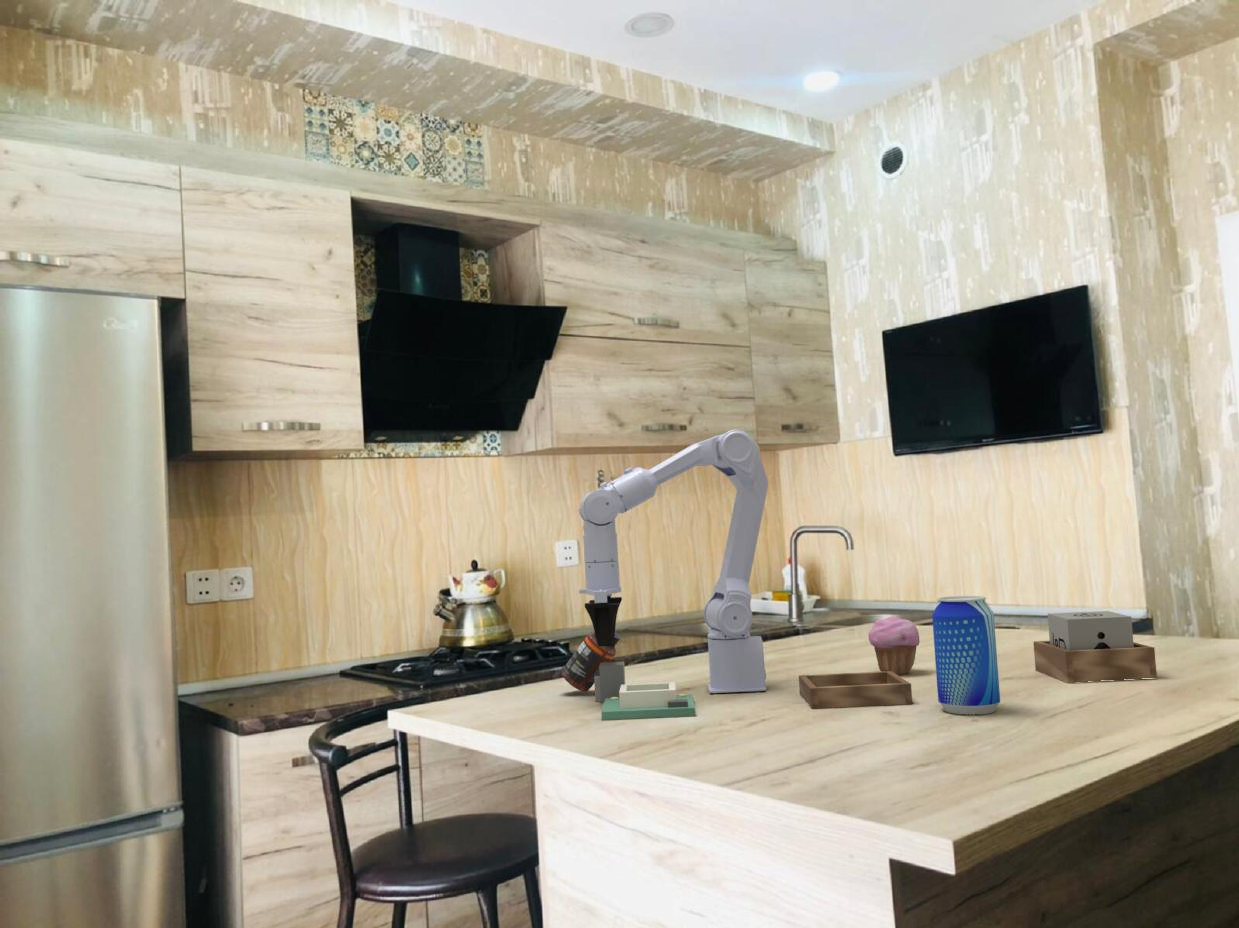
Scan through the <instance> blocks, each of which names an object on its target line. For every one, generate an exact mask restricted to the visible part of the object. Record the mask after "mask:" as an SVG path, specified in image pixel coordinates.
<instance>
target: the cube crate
mask: <svg viewBox="0 0 1239 928" xmlns="http://www.w3.org/2000/svg"><path fill="white" fill-rule="evenodd" d="M1133 643H1134V648H1115V649H1094V650H1073V651H1069V650H1066V649H1062V648H1059V647H1056V646H1053V645H1050V640H1039V641H1038V640H1037V641H1036V640H1035V641H1033V655H1034V663H1035V664H1034V665H1035V668H1034V669H1035V672H1038V673H1041V674H1043V673H1044V674H1043V675H1046V676H1049V677H1051V678H1053V677H1054V678H1053V679H1056V680H1059V681H1061V680H1062V681H1061V682H1063V683H1067V684H1076V683H1075V682H1084V683H1089V682H1088V681H1101V680H1124V679H1142V678H1157V679H1158V675H1157V674H1158V673H1157V664H1156V663H1157V662H1156V650H1155V647H1153V646H1149V645H1147V644H1146V645H1145V644H1143V643H1139V642H1134V641H1133Z"/></svg>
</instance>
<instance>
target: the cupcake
mask: <svg viewBox="0 0 1239 928" xmlns="http://www.w3.org/2000/svg"><path fill="white" fill-rule="evenodd" d="M868 640H869V644H870V645H871V646H872V647H873V648H874V652H875V656H876V662H877V665H878V669H879V672H883V671H892V672H893V673H895V674H897V675H898V676H902V675H906V674H909V673H910V672H911V671H912V669H913V666H914V664H915V660H916V653H917V647H918V646H919V645H920V634H919V630H918V628H917V626H916V624H914V622H912V621H911V620H909V619H905V618H898V617H894V616H890V617H889V616H888V617H886V618H884V619H878V620H876V621H875V622H874V624H873V625H872V627H871V628H870V630H869V631H868ZM901 674H902V675H901Z"/></svg>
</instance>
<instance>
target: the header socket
mask: <svg viewBox="0 0 1239 928" xmlns="http://www.w3.org/2000/svg"><path fill="white" fill-rule="evenodd" d="M676 695H677V688H676V682H675V681H670V682H667V681H666V682H651V683H650V682H647V683H631V684H629V683H625V684H624V685H621V687H620V691H619V699H620V709H622V708H643V707H665V706H668V701H676Z"/></svg>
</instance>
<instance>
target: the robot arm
mask: <svg viewBox="0 0 1239 928" xmlns="http://www.w3.org/2000/svg"><path fill="white" fill-rule="evenodd" d="M760 453H761V448H760V445H758V443H757V442H756V441H755V440H754V439H753V437H752V436H751V435H750V434H749V433H747V431H744V430H741V429H731V430H729V431H727V432H725V433H720V434H717V435H715V436H713V437H710V438H708V439H704V440H702V441H699V442H696V443H692V444H691V445H689V446H687V447H686V448H684V449H681V450H680V451H679V452H677V453H675V454H674V455H672V456H670V457H669V458H667V459H665V460H664V461H662V462H660V463H658V464H657V465H655V466H653V467H651V468H650V469H646V468H643V467H639V466H637V467H636V468H634V469H633V467H627V469H624V470H623V473H624V474H622V475H620V476H619V477H617V478H616V479H615V478H614V480H612V481H610V482H608V483H607V482H605V481H604V482H602V483H600V485H599V486H600V488H599V489H594V490H593V491H591V492H589V493H587V494H586V495H585V496H583V497H582V500H581V501H580V505H579V508H578V513H579V515H580V517H581V519H582V520H583V523H582V524H583V526H582V530H583V535H582V537H583V538H582V539H583V540H582V541H583V556H584V557H583V558H584V561H583V562H584V575H585V576H584V577H585V588H580V589H578V590H579V591H578V593H579V594H585V595H589V596H594V597H593V599H591V600H589V601H588V602H585V603H584V607H585V610H586V612H587V614H588V616H589V618H590V620H591V623H592V626H593V630H594V632H593V633H595V636H596V640H597V644H598V646H611V643H612V640H613V639H614V635H615V632H616V627H617V623H616V622H617V615H618V612H619V607H620V605H621V604H622V600H623V598H622V596H614V597H613V596H612V595H613V594H617V593H621V592H622V587H621V582H620V581H621V580H620V567H619V564H620V562H619V548H618V534H617V530H616V529H617V527H616V518H618V517H617V516H618V515H619V514H622V515H623V514H625V513H626V512H628V511H630V510H632V509H634V508H636V507H637V506H639V505H641V504H643V503H644V502H646V501H648V500H650V499H652V498H653V497H655V496H656V492H657V488H658V486H659V485H661V484H664V483H666V482H667V481H669V480H671V479H673V478H675V477H677V476H679V475H681V474H683V473H685V472H688V471H689V470H691V469H692V468H695V467H710V466H712V467H714V468H715V469H716V470H718V471H719V472H721V473H722V474H724V475H725V476H726V477H727V478H728V480H729V481H730V482H731V484H732V485H733V487H734V488H735V489H736V494H735V499H734V503H733V507H732V508H733V509H732V512H731V513H732V514H731V519H730V524H729V528H728V534H727V539H726V544H725V549H724V552H723V553H724V554H723V559H722V564H721V568H720V573H719V578H718V580H717V581H716V583H715V585H714V586H713V591H712V595H711V597H710V598H709V600H708V601H707V602H706V604H705V606H704V608H703V614H702V615H703V620H704V622H705V624H706V626H707V627H708V628H710V629H709V632H708V634H707V647H708V648H707V649H708V665H709V683H706V684H707V689H708V692H709V694H722V693H723V694H725V693H743V692H744V693H745V692H766V690H767V686H766V685H767V684H766V683H767V682H766V680H767V672H766V667H765V653H764V643H763V638H762V636H761V635H753V636H752V635H751V632H750V631H749V629H750V628H751V626H752V623H753V618H754V617H753V612H752V608H751V600H752V592H751V587H750V579H751V575H752V569H753V564H754V558H755V553H756V550H757V544H758V538H759V534H760V529H761V523H762V518H763V513H764V509H765V504H766V497H767V494H768V488H769V480H768V476H767V473H766V470H765V468H764V465H763V462H762V458H761V454H760Z"/></svg>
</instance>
